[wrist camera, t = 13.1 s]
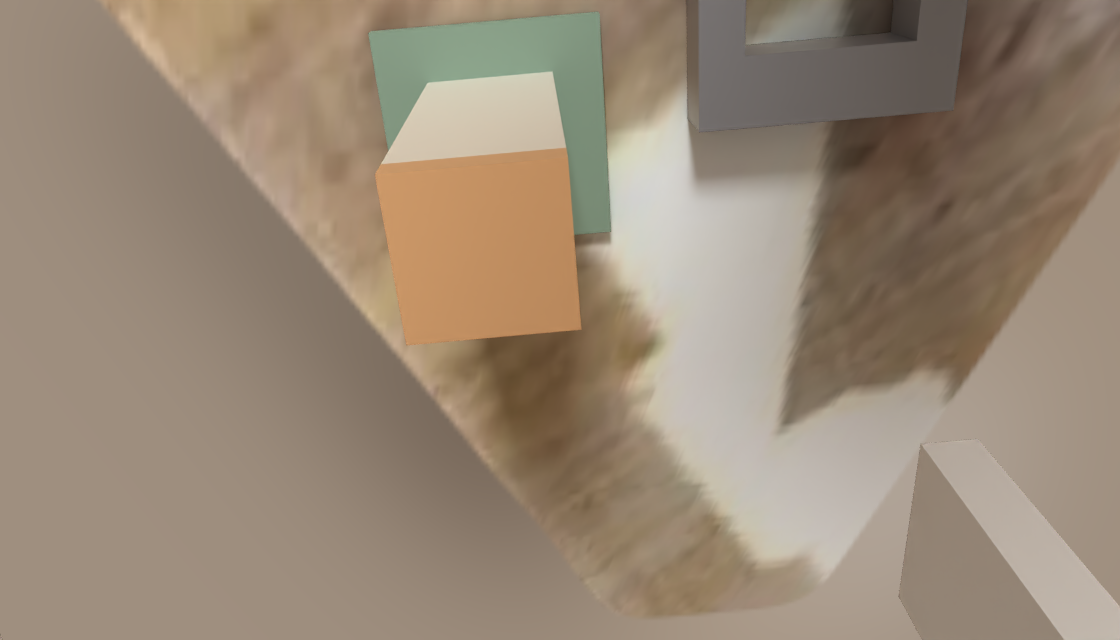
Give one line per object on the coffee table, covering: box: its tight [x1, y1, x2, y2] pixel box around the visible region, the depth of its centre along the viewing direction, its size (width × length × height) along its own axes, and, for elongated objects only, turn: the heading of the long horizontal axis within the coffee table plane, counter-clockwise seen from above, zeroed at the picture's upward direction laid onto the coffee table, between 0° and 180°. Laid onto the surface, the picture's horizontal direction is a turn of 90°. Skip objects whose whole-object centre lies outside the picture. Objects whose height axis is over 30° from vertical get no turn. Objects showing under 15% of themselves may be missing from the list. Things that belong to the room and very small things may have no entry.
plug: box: [375, 72, 581, 345], centre depth 28 cm, size 5×5×13 cm
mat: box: [368, 12, 611, 235], centre depth 34 cm, size 9×9×1 cm
